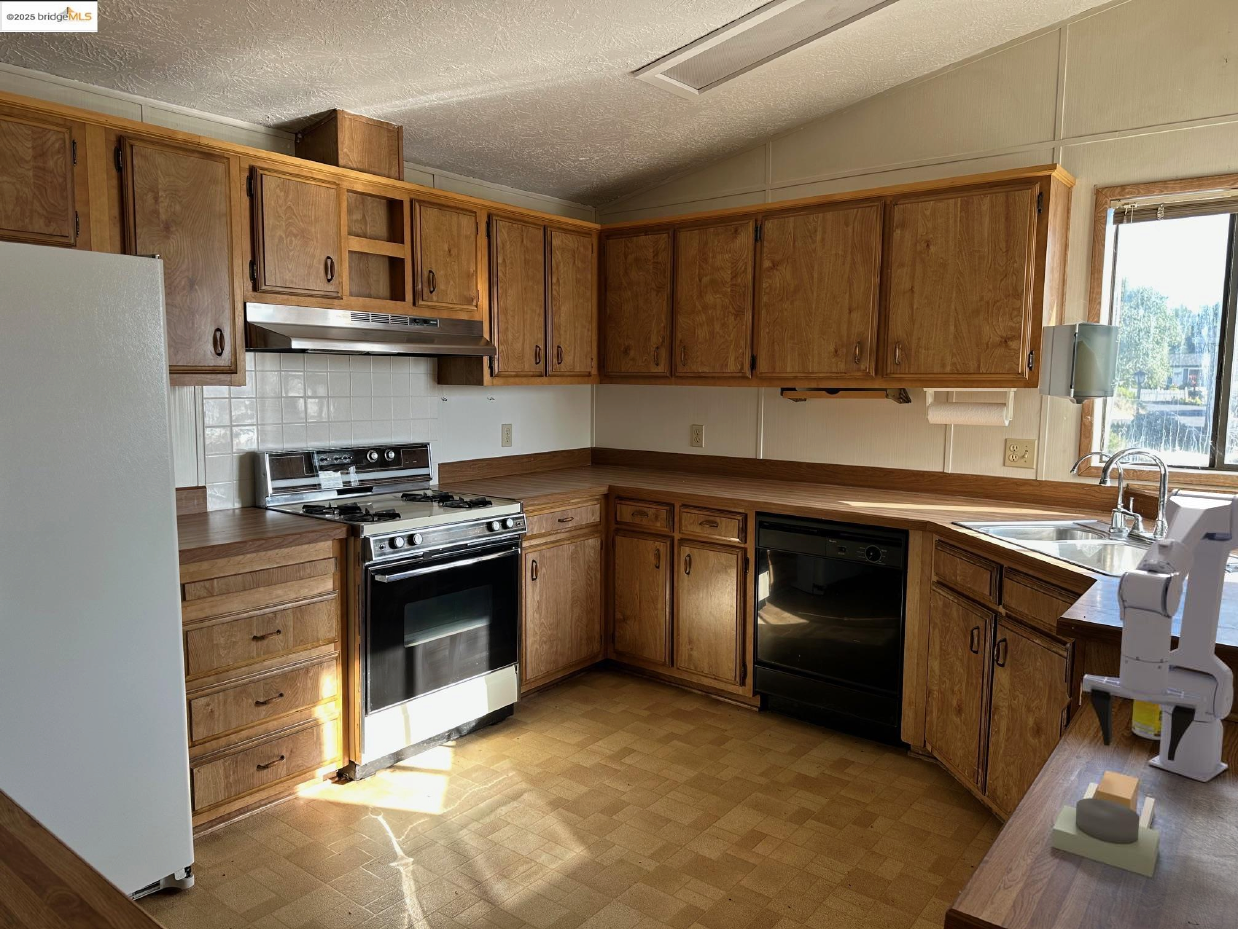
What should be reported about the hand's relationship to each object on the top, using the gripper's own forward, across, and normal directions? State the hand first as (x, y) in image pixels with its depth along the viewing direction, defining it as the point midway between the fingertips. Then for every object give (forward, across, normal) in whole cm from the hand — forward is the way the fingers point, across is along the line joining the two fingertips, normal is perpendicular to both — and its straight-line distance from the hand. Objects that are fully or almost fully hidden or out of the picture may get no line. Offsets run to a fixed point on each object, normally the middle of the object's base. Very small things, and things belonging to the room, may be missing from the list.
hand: (1138, 750), depth 117 cm
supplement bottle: (+9, -1, +34) cm, 35 cm away
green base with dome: (+9, -2, -9) cm, 12 cm away
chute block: (+9, -2, -4) cm, 10 cm away
